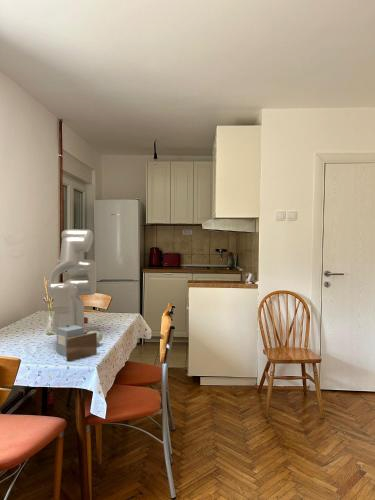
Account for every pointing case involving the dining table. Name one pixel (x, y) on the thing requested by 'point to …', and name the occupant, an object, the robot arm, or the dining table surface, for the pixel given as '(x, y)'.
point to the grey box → (67, 333)
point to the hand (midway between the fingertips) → (62, 347)
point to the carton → (85, 320)
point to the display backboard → (81, 346)
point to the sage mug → (99, 336)
